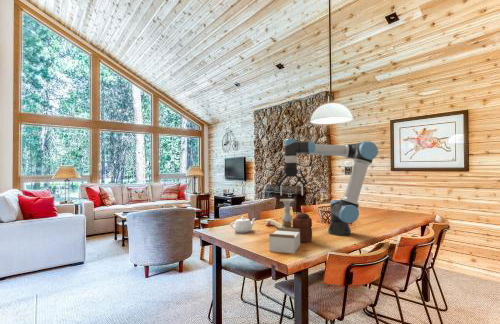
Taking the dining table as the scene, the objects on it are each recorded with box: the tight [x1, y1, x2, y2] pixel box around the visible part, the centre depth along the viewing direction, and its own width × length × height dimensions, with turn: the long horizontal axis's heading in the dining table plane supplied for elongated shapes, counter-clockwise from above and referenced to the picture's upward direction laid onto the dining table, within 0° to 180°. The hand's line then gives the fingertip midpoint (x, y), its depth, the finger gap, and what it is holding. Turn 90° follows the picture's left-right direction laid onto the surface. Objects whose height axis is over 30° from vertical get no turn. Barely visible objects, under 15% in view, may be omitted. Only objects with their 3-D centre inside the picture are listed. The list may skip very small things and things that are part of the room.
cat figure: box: [263, 218, 284, 228], centre depth 216 cm, size 10×9×25 cm
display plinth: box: [268, 226, 301, 254], centre depth 162 cm, size 14×18×10 cm
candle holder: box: [279, 198, 295, 228], centre depth 195 cm, size 11×11×24 cm
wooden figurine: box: [291, 212, 313, 244], centre depth 175 cm, size 12×6×18 cm, turn 105°
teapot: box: [229, 216, 257, 234], centre depth 204 cm, size 22×14×11 cm, turn 124°
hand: (291, 195), depth 181 cm, fingers open, 13 cm apart
